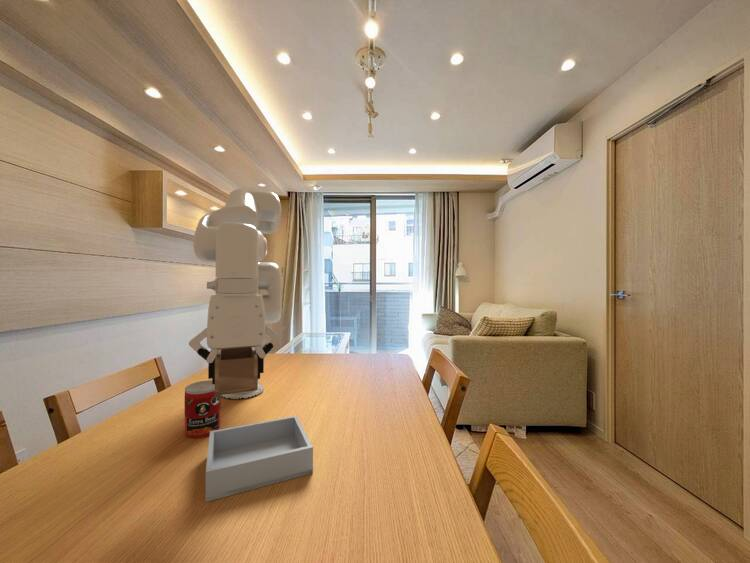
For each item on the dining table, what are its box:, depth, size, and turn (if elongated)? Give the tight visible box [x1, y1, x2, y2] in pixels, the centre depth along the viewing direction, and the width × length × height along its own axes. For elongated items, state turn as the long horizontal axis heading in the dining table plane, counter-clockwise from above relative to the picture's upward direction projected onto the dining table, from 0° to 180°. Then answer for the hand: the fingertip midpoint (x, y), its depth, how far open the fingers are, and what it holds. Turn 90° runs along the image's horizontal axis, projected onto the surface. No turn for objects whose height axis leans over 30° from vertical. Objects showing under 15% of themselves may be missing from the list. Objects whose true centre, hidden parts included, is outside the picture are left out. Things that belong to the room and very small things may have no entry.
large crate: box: [205, 415, 314, 503], centre depth 62 cm, size 15×18×5 cm
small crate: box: [215, 347, 258, 396], centre depth 60 cm, size 10×7×6 cm
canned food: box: [184, 379, 222, 439], centre depth 75 cm, size 8×8×11 cm
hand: (236, 378), depth 60 cm, fingers closed on small crate, 7 cm apart
